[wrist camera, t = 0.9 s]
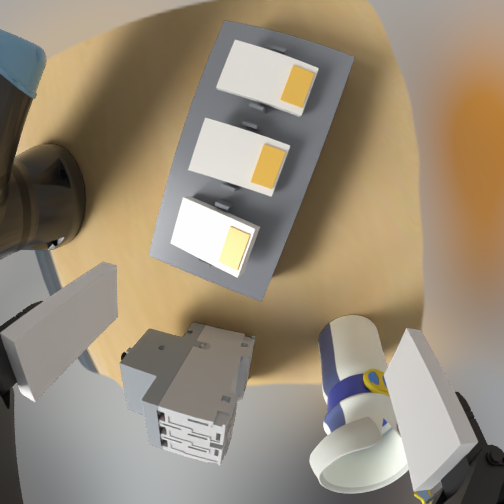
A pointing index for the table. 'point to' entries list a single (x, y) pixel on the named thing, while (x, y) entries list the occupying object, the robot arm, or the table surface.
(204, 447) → the circuit breaker
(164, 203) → the panel
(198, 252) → the rocker
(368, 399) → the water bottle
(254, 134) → the block
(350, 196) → the table surface
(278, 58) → the rocker
